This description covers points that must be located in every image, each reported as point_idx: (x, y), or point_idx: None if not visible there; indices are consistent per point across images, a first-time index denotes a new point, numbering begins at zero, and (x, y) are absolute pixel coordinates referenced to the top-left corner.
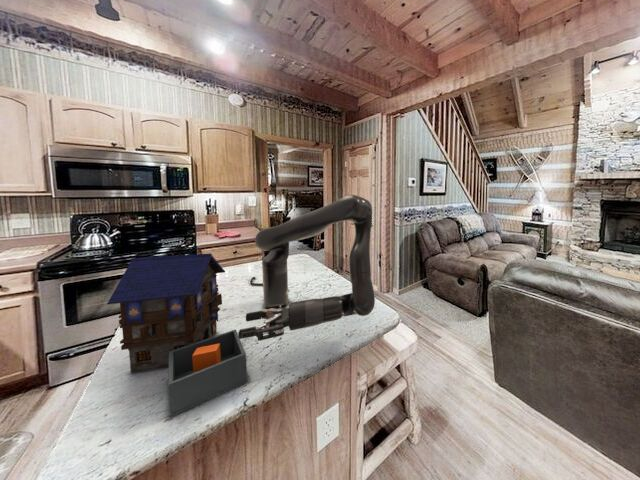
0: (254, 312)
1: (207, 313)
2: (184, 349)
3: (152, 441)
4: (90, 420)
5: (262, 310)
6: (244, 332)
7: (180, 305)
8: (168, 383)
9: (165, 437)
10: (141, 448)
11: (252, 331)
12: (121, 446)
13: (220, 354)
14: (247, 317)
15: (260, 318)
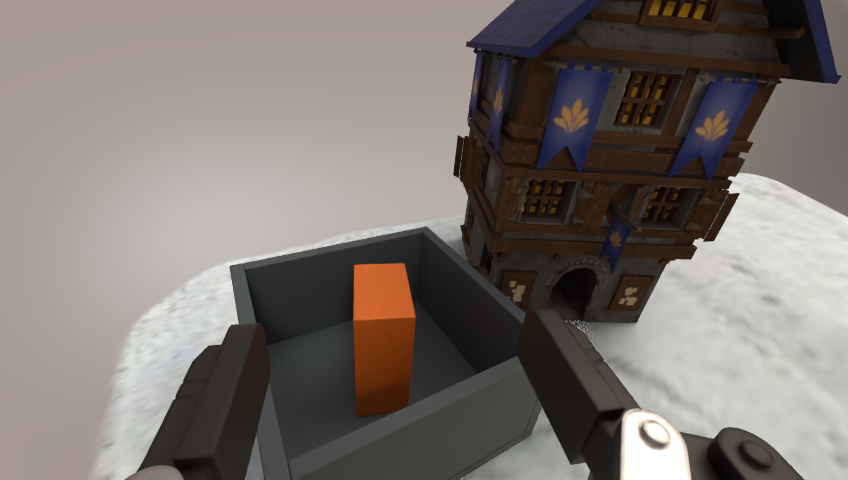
0: (570, 355)
1: (596, 213)
2: (436, 250)
3: (181, 347)
4: (340, 242)
5: (630, 425)
6: (192, 370)
7: (503, 99)
8: (239, 264)
9: (169, 369)
10: (175, 335)
11: (151, 449)
12: (220, 301)
13: (408, 358)
14: (526, 335)
15: (571, 457)
